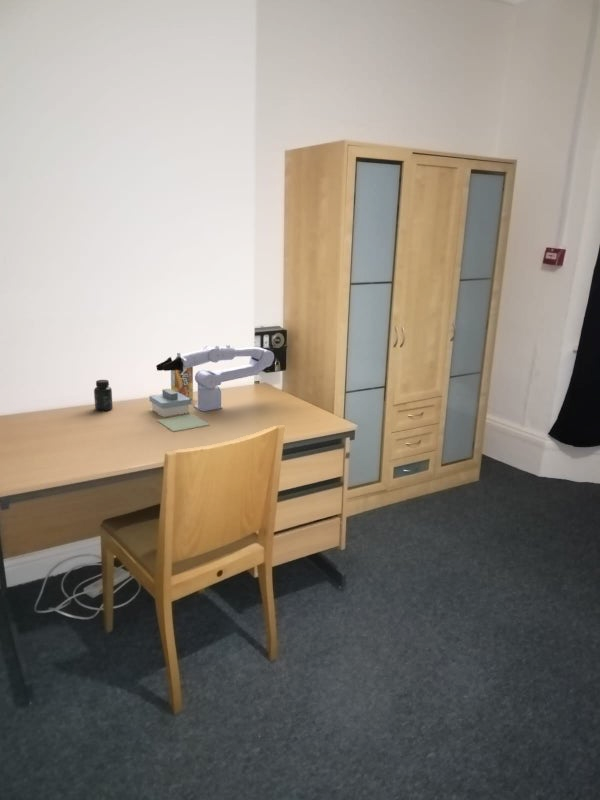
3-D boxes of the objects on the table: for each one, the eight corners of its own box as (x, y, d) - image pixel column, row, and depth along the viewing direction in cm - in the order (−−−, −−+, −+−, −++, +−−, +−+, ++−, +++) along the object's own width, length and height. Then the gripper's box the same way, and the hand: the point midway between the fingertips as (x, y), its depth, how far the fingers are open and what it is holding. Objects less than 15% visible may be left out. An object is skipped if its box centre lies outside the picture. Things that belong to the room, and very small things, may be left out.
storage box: (177, 406, 242) (176, 394, 240) (188, 412, 233) (188, 401, 232) (152, 409, 235) (152, 398, 234) (163, 417, 227) (163, 405, 225)
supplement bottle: (92, 408, 234) (90, 380, 230) (108, 405, 238) (107, 378, 235) (99, 412, 229) (97, 384, 226) (115, 410, 233) (113, 381, 230)
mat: (191, 414, 231) (191, 413, 231) (209, 425, 219) (209, 424, 219) (156, 420, 222) (156, 419, 222) (173, 431, 211) (173, 430, 211)
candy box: (188, 396, 256) (188, 363, 252) (193, 398, 253) (193, 365, 249) (171, 399, 251) (170, 365, 246) (175, 401, 248) (174, 367, 243)
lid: (177, 396, 241) (177, 385, 240) (190, 404, 232) (190, 392, 231) (149, 400, 234) (149, 389, 233) (162, 408, 225) (161, 397, 223)
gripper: (182, 350, 236) (151, 358, 229) (196, 349, 224) (163, 358, 217) (186, 366, 238) (156, 375, 231) (200, 367, 225) (168, 375, 218)
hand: (160, 368), depth 224 cm, fingers open, 7 cm apart
